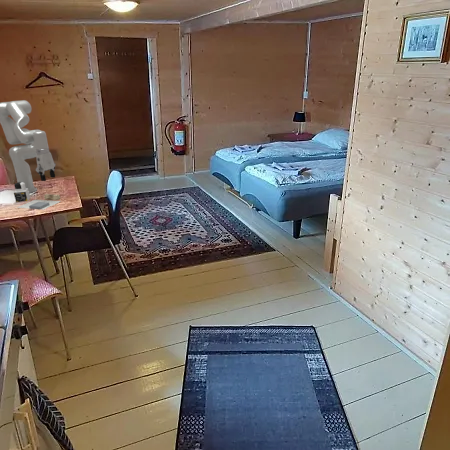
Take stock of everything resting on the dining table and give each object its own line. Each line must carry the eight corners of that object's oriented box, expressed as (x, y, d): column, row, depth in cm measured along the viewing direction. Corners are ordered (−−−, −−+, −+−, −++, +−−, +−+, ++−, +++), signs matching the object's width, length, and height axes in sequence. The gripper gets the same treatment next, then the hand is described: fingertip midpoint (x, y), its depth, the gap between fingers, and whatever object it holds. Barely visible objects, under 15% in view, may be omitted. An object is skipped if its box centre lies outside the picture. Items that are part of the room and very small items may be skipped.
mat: (16, 208, 248) (16, 207, 248) (35, 200, 262) (35, 199, 262) (43, 210, 242) (43, 209, 242) (61, 202, 256) (61, 201, 256)
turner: (43, 200, 261) (42, 195, 260) (49, 198, 265) (47, 193, 264) (64, 202, 256) (63, 197, 255) (69, 199, 261) (68, 194, 259)
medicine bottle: (15, 203, 259) (11, 184, 255) (18, 199, 266) (14, 182, 261) (27, 201, 260) (23, 183, 256) (30, 198, 267) (26, 180, 262)
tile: (29, 205, 244) (39, 206, 242) (38, 201, 251) (49, 202, 249) (29, 208, 245) (40, 209, 243) (39, 204, 252) (49, 205, 250)
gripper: (37, 154, 241) (43, 183, 248) (57, 148, 257) (62, 175, 263) (27, 154, 244) (33, 182, 250) (47, 148, 259) (52, 175, 265)
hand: (48, 178), depth 257 cm, fingers open, 8 cm apart
